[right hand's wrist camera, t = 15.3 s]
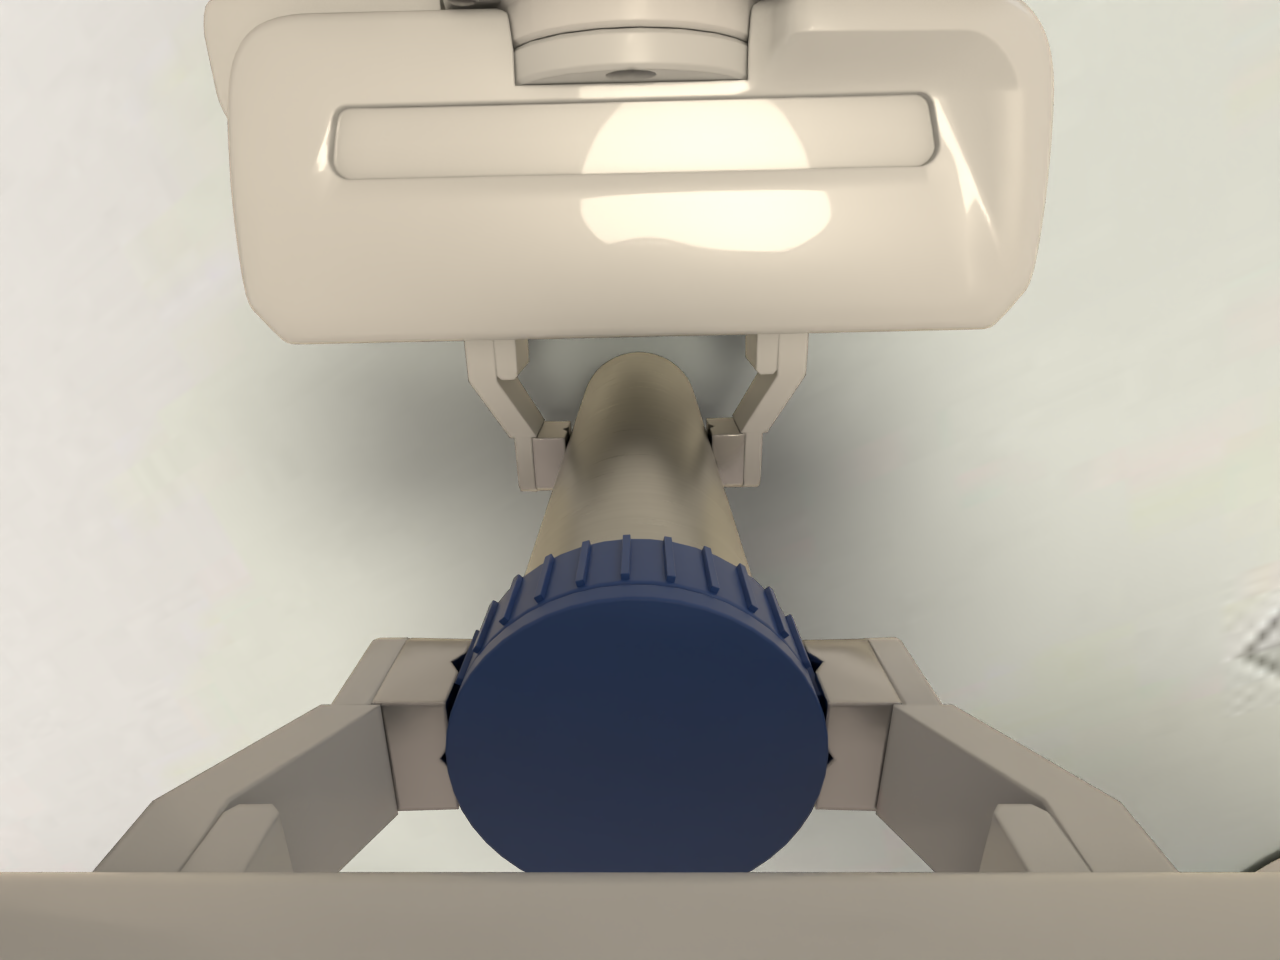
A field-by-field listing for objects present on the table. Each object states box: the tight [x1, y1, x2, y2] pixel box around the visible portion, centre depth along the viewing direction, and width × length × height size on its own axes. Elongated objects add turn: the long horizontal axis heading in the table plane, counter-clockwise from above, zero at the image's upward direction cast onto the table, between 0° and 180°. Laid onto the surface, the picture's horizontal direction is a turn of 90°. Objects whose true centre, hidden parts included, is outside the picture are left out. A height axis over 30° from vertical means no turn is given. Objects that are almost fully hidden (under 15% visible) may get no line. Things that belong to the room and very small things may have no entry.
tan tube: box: [525, 352, 752, 577], centre depth 17 cm, size 4×4×18 cm
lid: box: [445, 534, 828, 872], centre depth 10 cm, size 5×5×2 cm
